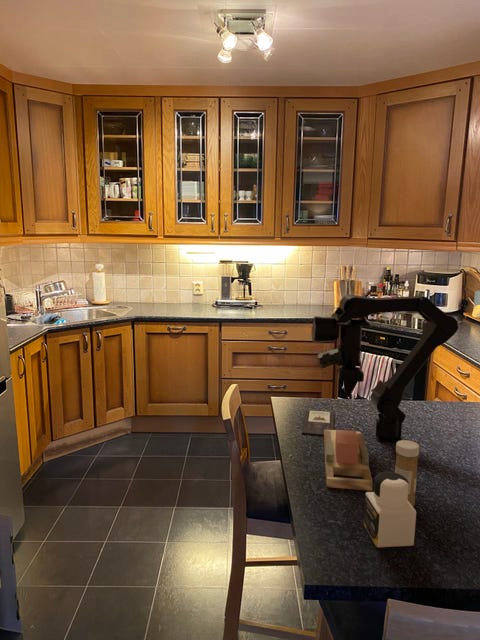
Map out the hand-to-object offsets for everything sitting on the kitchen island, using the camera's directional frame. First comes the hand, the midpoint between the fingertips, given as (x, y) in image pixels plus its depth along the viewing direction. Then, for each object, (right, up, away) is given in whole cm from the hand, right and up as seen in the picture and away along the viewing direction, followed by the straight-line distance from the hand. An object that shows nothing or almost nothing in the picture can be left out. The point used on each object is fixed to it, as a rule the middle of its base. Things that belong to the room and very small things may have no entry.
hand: (347, 396), depth 132 cm
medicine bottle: (-2, -20, -41) cm, 46 cm away
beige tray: (-3, -14, -11) cm, 18 cm away
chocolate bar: (-6, -11, +12) cm, 17 cm away
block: (-3, -13, -13) cm, 19 cm away
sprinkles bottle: (+5, -18, -30) cm, 36 cm away
